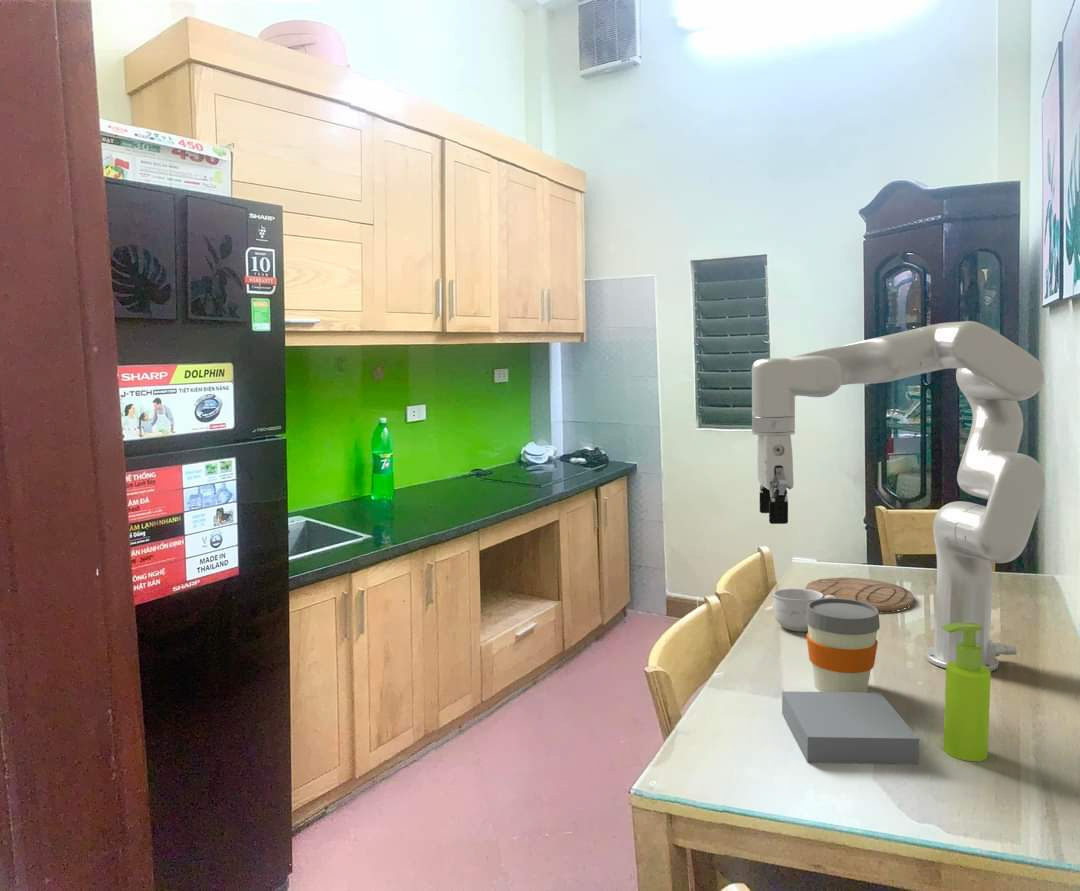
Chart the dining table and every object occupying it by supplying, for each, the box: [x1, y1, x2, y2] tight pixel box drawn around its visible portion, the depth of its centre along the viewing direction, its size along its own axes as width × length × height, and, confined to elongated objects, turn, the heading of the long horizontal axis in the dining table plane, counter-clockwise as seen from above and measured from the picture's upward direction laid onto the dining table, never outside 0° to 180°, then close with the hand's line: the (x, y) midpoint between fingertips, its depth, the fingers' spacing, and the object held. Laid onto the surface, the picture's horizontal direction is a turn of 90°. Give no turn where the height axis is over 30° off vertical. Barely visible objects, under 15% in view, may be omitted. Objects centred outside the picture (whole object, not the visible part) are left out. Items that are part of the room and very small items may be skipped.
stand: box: [781, 691, 920, 765], centre depth 123 cm, size 16×16×4 cm
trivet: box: [805, 576, 914, 613], centre depth 194 cm, size 25×25×2 cm
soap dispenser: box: [941, 622, 992, 762], centre depth 117 cm, size 6×7×20 cm
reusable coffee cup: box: [805, 598, 881, 692], centre depth 141 cm, size 13×13×15 cm
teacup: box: [772, 587, 836, 632], centre depth 173 cm, size 14×11×8 cm
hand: (773, 517), depth 144 cm, fingers open, 9 cm apart
